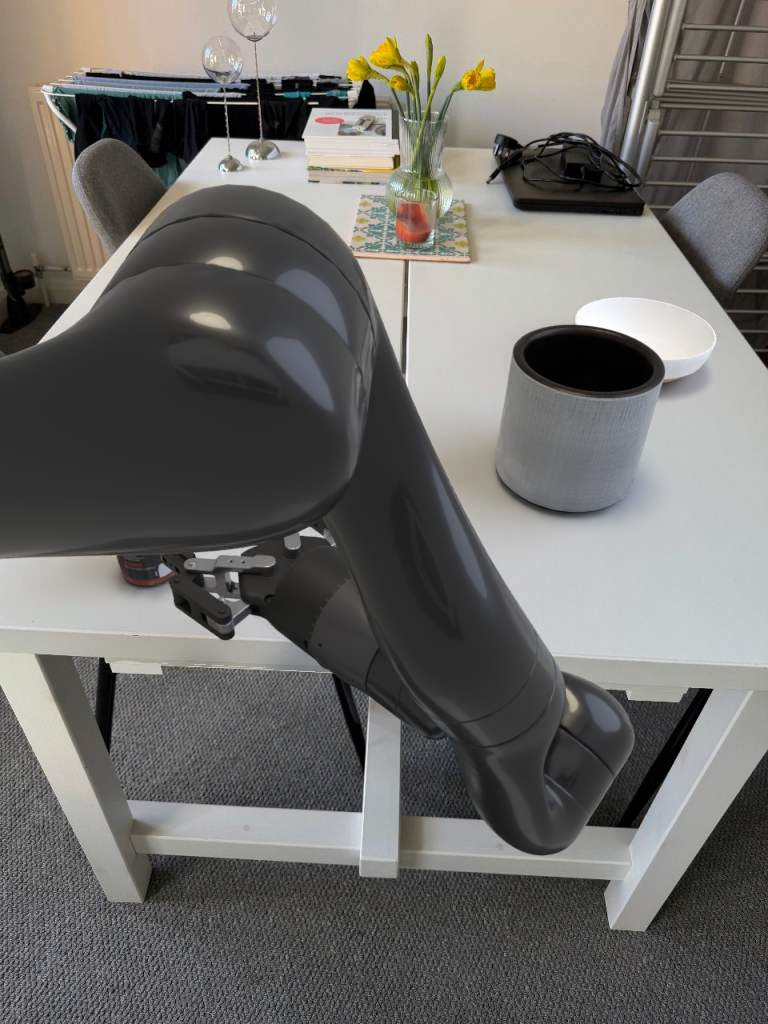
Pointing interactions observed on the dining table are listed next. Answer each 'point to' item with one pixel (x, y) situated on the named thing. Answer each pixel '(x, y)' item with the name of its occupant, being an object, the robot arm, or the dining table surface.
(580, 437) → the planter
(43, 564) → the dining table surface
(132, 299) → the robot arm
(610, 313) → the bowl
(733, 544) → the dining table surface
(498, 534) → the dining table surface
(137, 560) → the supplement bottle
